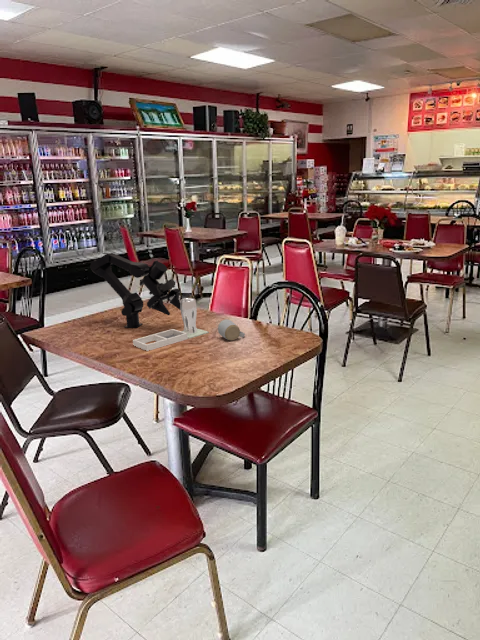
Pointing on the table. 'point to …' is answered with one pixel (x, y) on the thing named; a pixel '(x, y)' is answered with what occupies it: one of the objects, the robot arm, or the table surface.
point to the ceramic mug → (229, 330)
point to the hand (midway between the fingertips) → (175, 312)
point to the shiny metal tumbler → (189, 315)
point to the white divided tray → (164, 339)
